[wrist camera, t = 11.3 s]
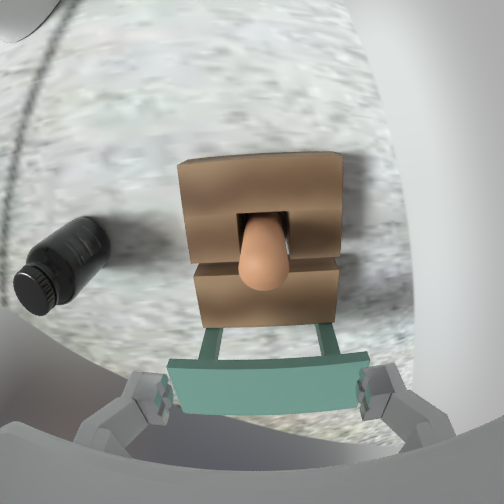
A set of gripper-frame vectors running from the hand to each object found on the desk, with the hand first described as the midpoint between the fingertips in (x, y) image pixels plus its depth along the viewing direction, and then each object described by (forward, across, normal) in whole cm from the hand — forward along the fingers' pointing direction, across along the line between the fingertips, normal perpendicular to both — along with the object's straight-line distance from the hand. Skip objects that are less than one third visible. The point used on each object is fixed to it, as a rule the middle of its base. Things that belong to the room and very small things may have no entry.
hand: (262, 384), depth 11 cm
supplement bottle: (+21, +21, +1) cm, 30 cm away
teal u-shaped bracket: (+21, 0, +9) cm, 23 cm away
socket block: (+21, 0, +2) cm, 21 cm away
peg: (+21, 0, 0) cm, 21 cm away
